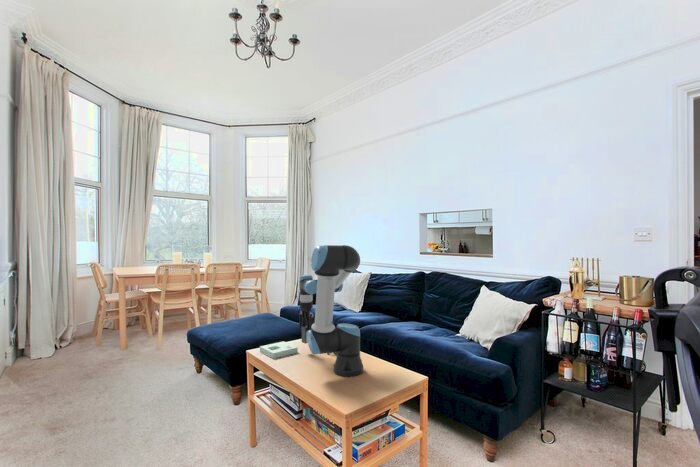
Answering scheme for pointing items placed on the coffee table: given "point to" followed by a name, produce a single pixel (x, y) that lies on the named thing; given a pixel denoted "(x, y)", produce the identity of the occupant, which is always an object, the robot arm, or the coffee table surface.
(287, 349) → the outlet plate
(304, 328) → the charger block
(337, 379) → the coffee table surface
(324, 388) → the coffee table surface
